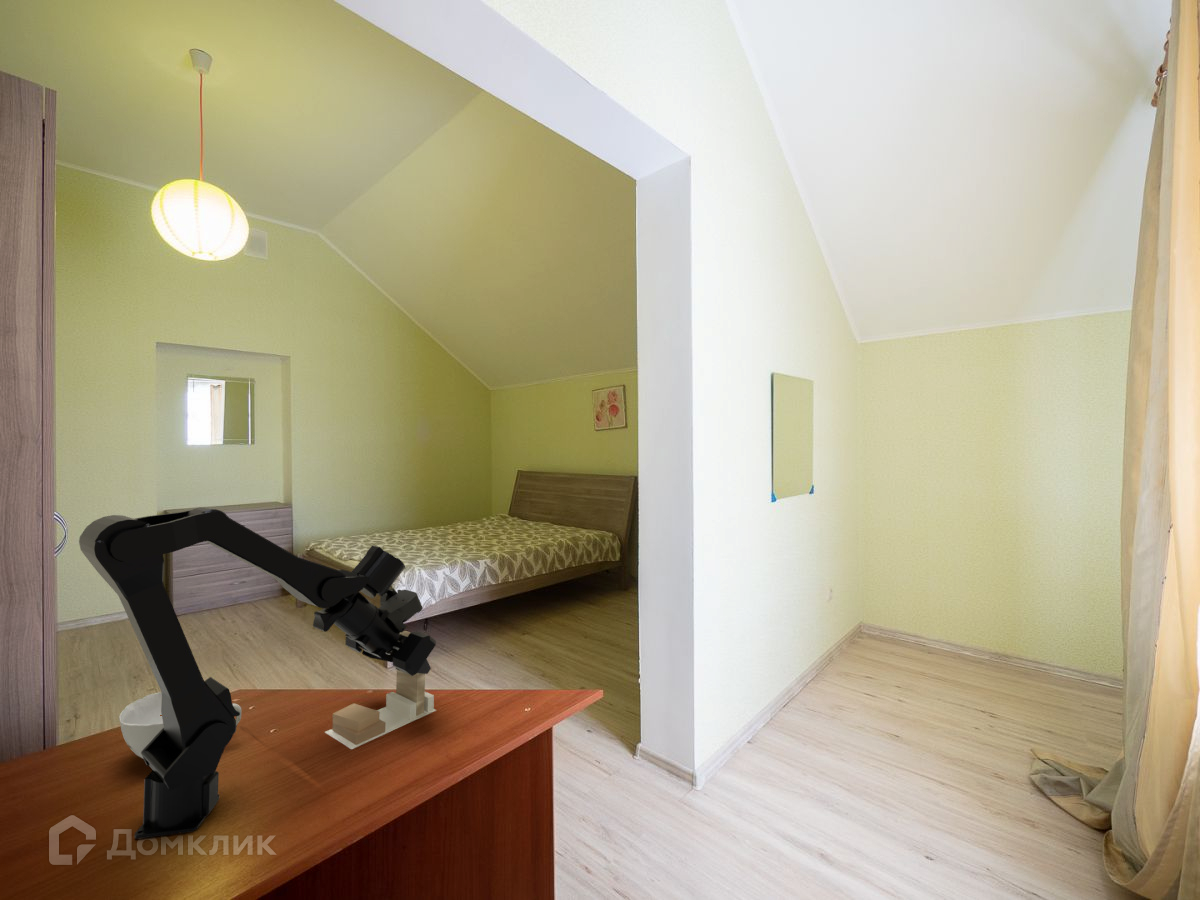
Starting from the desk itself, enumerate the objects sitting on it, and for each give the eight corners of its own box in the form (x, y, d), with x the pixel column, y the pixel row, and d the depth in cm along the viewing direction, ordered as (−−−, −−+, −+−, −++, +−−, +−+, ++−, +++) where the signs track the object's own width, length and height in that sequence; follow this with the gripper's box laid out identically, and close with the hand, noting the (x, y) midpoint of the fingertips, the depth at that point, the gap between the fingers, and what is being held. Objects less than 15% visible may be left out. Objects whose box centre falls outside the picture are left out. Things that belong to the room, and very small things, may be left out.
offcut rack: (351, 755, 80) (352, 729, 80) (324, 738, 85) (325, 713, 85) (436, 715, 93) (436, 693, 93) (408, 702, 98) (409, 680, 98)
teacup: (95, 786, 72) (97, 727, 72) (145, 738, 84) (147, 688, 84) (223, 770, 76) (225, 714, 76) (253, 726, 88) (255, 678, 88)
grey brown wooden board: (416, 715, 91) (418, 640, 91) (395, 705, 94) (397, 633, 94) (424, 712, 92) (426, 638, 92) (403, 702, 96) (405, 630, 96)
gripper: (427, 587, 85) (478, 637, 94) (363, 570, 96) (414, 616, 105) (381, 650, 78) (440, 698, 87) (318, 624, 89) (376, 669, 98)
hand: (417, 666), depth 94 cm, fingers closed on grey brown wooden board, 6 cm apart
